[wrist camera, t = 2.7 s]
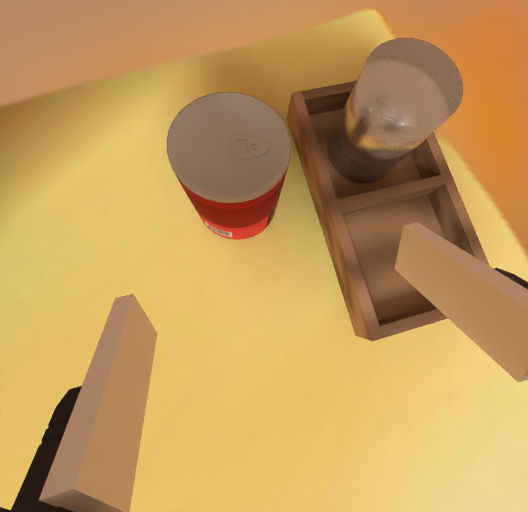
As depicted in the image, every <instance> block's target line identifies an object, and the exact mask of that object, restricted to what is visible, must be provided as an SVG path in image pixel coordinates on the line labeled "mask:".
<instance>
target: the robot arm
mask: <svg viewBox="0 0 528 512" xmlns="http://www.w3.org/2000/svg"><path fill="white" fill-rule="evenodd" d="M395 270H396V271H397V272H398V273H399V274H401V275H402V276H403V277H404V278H405V279H406V280H407V281H408V282H409V283H410V284H411V285H413V286H414V287H415V288H416V289H417V290H418V291H419V292H420V293H421V294H422V295H423V296H425V297H426V298H427V299H428V300H429V301H430V302H431V303H432V304H433V305H434V306H435V307H437V308H438V309H439V310H440V311H441V312H442V313H443V314H444V315H445V316H446V317H447V318H449V319H450V320H451V321H452V322H453V323H454V324H455V325H456V326H457V327H458V328H459V329H461V330H462V331H463V332H464V333H465V334H466V335H467V336H468V337H469V338H470V339H471V340H473V341H474V342H475V343H476V344H477V345H478V346H479V347H480V348H481V349H482V350H483V351H485V352H486V353H487V354H488V355H489V356H490V357H491V358H492V359H493V360H494V361H495V362H497V363H498V364H499V365H500V366H501V367H502V368H503V369H504V370H505V371H506V372H507V373H509V374H510V375H511V376H512V377H513V378H514V379H515V380H516V381H517V382H521V381H524V380H527V379H528V282H526V281H525V280H523V279H521V278H519V277H518V276H516V275H514V274H512V273H509V272H506V271H504V270H501V269H498V268H495V269H493V268H491V267H490V266H488V265H487V264H485V263H483V262H482V261H480V260H478V259H477V258H475V257H473V256H472V255H470V254H469V253H467V252H465V251H464V250H462V249H460V248H459V247H457V246H455V245H454V244H452V243H451V242H449V241H447V240H446V239H444V238H442V237H441V236H439V235H437V234H436V233H434V232H433V231H431V230H429V229H428V228H426V227H424V226H423V225H421V224H419V223H418V222H417V223H413V224H409V225H405V226H403V230H402V235H401V240H400V245H399V249H398V254H397V259H396V264H395ZM156 338H157V332H156V330H155V329H154V327H153V325H152V324H151V322H150V321H149V319H148V317H147V316H146V314H145V312H144V311H143V309H142V308H141V306H140V304H139V303H138V301H137V300H136V298H135V296H134V295H133V294H131V295H127V296H123V297H120V298H116V299H115V301H114V303H113V306H112V309H111V311H110V314H109V316H108V319H107V322H106V324H105V327H104V330H103V332H102V335H101V338H100V340H99V343H98V345H97V348H96V351H95V353H94V356H93V359H92V361H91V364H90V366H89V369H88V372H87V374H86V377H85V380H84V382H83V385H82V386H80V387H76V388H73V389H69V391H68V392H67V393H66V394H65V396H64V397H63V398H62V400H61V401H60V402H59V404H58V405H57V406H56V408H55V411H54V413H53V415H52V418H51V420H50V422H49V424H48V426H49V428H48V429H46V431H45V434H44V436H43V438H42V444H41V445H39V447H38V450H37V452H36V454H35V457H34V459H33V461H32V463H31V466H30V468H29V470H28V473H27V475H26V477H25V479H24V482H23V484H22V486H21V489H20V491H19V493H18V496H17V498H16V500H15V502H14V505H13V507H12V509H11V510H7V509H4V508H1V507H0V512H129V511H130V504H131V498H132V491H133V485H134V479H135V472H136V466H137V460H138V453H139V447H140V440H141V434H142V428H143V421H144V415H145V408H146V402H147V396H148V389H149V383H150V376H151V370H152V364H153V357H154V351H155V344H156Z"/></svg>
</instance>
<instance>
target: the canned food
mask: <svg viewBox="0 0 528 512" xmlns="http://www.w3.org/2000/svg"><path fill="white" fill-rule="evenodd" d="M290 149H291V142H290V135H289V132H288V130H287V127H286V124H285V123H284V121H283V120H282V118H281V117H280V115H279V114H278V113H277V112H276V111H275V110H274V109H273V108H272V107H270V106H269V105H267V104H266V103H265V102H263V101H261V100H259V99H257V98H255V97H253V96H249V95H246V94H242V93H234V92H220V93H214V94H209V95H206V96H203V97H201V98H198V99H196V100H194V101H193V102H191V103H190V104H188V105H187V106H186V107H184V108H183V109H182V110H181V111H180V112H179V113H178V115H177V116H176V117H175V119H174V120H173V122H172V124H171V126H170V129H169V131H168V136H167V153H168V157H169V160H170V163H171V166H172V169H173V171H174V172H175V174H176V176H177V178H178V180H179V182H180V184H181V185H182V187H183V189H184V190H185V192H186V194H187V195H188V197H189V199H190V200H191V202H192V204H193V205H194V207H195V209H196V211H197V212H198V214H199V216H200V217H201V219H202V221H203V222H204V224H205V225H206V226H207V227H208V228H209V229H210V230H211V231H213V232H214V233H215V234H217V235H219V236H221V237H225V238H228V239H246V238H249V237H252V236H254V235H257V234H259V233H260V232H261V231H263V230H264V229H265V228H266V227H267V226H268V225H269V224H270V222H271V220H272V218H273V216H274V213H275V209H276V206H277V203H278V199H279V196H280V192H281V189H282V186H283V182H284V179H285V176H286V172H287V169H288V164H289V161H290Z"/></svg>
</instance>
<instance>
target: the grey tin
mask: <svg viewBox="0 0 528 512" xmlns="http://www.w3.org/2000/svg"><path fill="white" fill-rule="evenodd" d="M462 95H463V82H462V78H461V75H460V72H459V70H458V68H457V67H456V65H455V64H454V62H453V61H452V60H451V59H450V58H449V56H448V55H447V54H445V53H444V52H443V51H442V50H441V49H439V48H438V47H436V46H434V45H432V44H430V43H428V42H426V41H422V40H419V39H414V38H398V39H393V40H389V41H387V42H385V43H383V44H381V45H379V46H378V47H377V48H376V49H375V50H374V51H373V52H372V53H371V54H370V56H369V57H368V59H367V61H366V63H365V66H364V68H363V70H362V72H361V74H360V76H359V78H358V80H357V82H356V84H355V86H354V88H353V90H352V92H351V94H350V96H349V98H348V100H347V102H346V104H345V107H344V109H343V111H342V113H341V115H340V117H339V119H338V121H337V123H336V125H335V127H334V129H333V131H332V133H331V135H330V137H329V140H328V144H327V153H328V157H329V160H330V162H331V164H332V166H333V168H334V169H335V170H336V171H337V172H338V173H339V174H340V175H341V176H343V177H344V178H346V179H348V180H350V181H353V182H356V183H373V182H376V181H378V180H380V179H382V178H384V177H385V176H386V175H387V174H388V173H389V172H390V171H391V170H393V169H394V168H395V167H396V166H397V165H398V164H399V163H400V162H401V161H402V160H403V159H404V158H406V157H407V156H408V155H409V154H410V153H411V152H412V151H413V150H414V149H415V148H416V147H417V146H419V145H420V144H421V143H422V142H423V141H424V140H425V139H426V138H427V137H428V136H429V135H430V134H432V133H433V132H434V131H435V130H436V129H437V128H438V127H439V126H440V125H441V124H442V123H443V122H445V121H446V120H447V119H448V118H449V117H450V116H451V115H452V114H453V113H454V112H455V111H456V110H457V108H458V107H459V105H460V103H461V99H462Z"/></svg>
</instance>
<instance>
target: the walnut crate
mask: <svg viewBox="0 0 528 512" xmlns="http://www.w3.org/2000/svg"><path fill="white" fill-rule="evenodd" d="M356 82H357V81H354V82H349V83H344V84H339V85H333V86H328V87H323V88H317V89H312V90H307V91H302V92H296V93H292V96H291V101H290V106H289V111H288V116H287V120H288V123H289V126H290V129H291V132H292V136H293V139H294V142H295V145H296V148H297V151H298V155H299V158H300V161H301V164H302V167H303V170H304V173H305V177H306V180H307V183H308V186H309V189H310V192H311V196H312V199H313V202H314V205H315V208H316V211H317V215H318V218H319V221H320V224H321V227H322V230H323V234H324V237H325V240H326V243H327V246H328V249H329V253H330V256H331V259H332V262H333V265H334V268H335V271H336V275H337V278H338V281H339V284H340V287H341V290H342V294H343V297H344V300H345V303H346V306H347V309H348V313H349V316H350V319H351V322H352V325H353V328H354V332H355V335H356V336H358V337H362V338H365V339H368V340H371V341H375V340H378V339H381V338H385V337H388V336H391V335H395V334H398V333H401V332H404V331H408V330H411V329H414V328H418V327H421V326H424V325H427V324H431V323H434V322H437V321H441V320H444V319H447V317H446V316H445V315H444V314H443V313H442V312H441V311H440V310H439V309H438V308H437V307H435V306H434V305H433V304H432V303H431V302H430V301H429V300H428V299H427V298H426V297H425V296H423V295H422V294H421V293H420V292H419V291H418V290H417V289H416V288H415V287H414V286H413V285H411V284H410V283H409V282H408V281H407V280H406V279H405V278H404V277H403V276H402V275H401V274H399V273H398V272H397V271H396V270H395V264H396V259H397V254H398V249H399V245H400V240H401V235H402V230H403V226H405V225H409V224H413V223H417V222H418V223H419V224H421V225H423V226H424V227H426V228H428V229H429V230H431V231H433V232H434V233H436V234H437V235H439V236H441V237H442V238H444V239H446V240H447V241H449V242H451V243H452V244H454V245H455V246H457V247H459V248H460V249H462V250H464V251H465V252H467V253H469V254H470V255H472V256H473V257H475V258H477V259H478V260H480V261H482V262H483V263H485V264H487V265H488V266H489V263H488V261H487V259H486V256H485V254H484V251H483V249H482V247H481V244H480V242H479V239H478V237H477V235H476V232H475V230H474V228H473V225H472V223H471V220H470V218H469V216H468V213H467V211H466V208H465V206H464V204H463V201H462V199H461V197H460V194H459V192H458V189H457V187H456V185H455V182H454V180H453V177H452V175H451V173H450V170H449V168H448V165H447V163H446V161H445V158H444V156H443V154H442V151H441V149H440V146H439V144H438V142H437V139H436V137H435V134H434V132H433V133H432V134H430V135H429V136H428V137H427V138H426V139H425V140H424V141H423V142H422V143H421V144H420V145H419V146H417V147H416V148H415V149H414V150H413V151H412V152H411V153H410V154H409V155H408V156H407V157H406V158H404V159H403V160H402V161H401V162H400V163H399V164H398V165H397V166H396V167H395V168H394V169H393V170H391V171H390V172H389V173H388V174H387V175H386V176H385V177H384V178H382V179H380V180H378V181H376V182H373V183H356V182H353V181H350V180H348V179H346V178H344V177H343V176H341V175H340V174H339V173H338V172H337V171H336V170H335V169H334V168H333V166H332V164H331V162H330V160H329V157H328V153H327V144H328V140H329V137H330V135H331V133H332V131H333V129H334V127H335V125H336V123H337V121H338V119H339V117H340V115H341V113H342V111H343V109H344V107H345V104H346V102H347V100H348V98H349V96H350V94H351V92H352V90H353V88H354V86H355V84H356Z"/></svg>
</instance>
